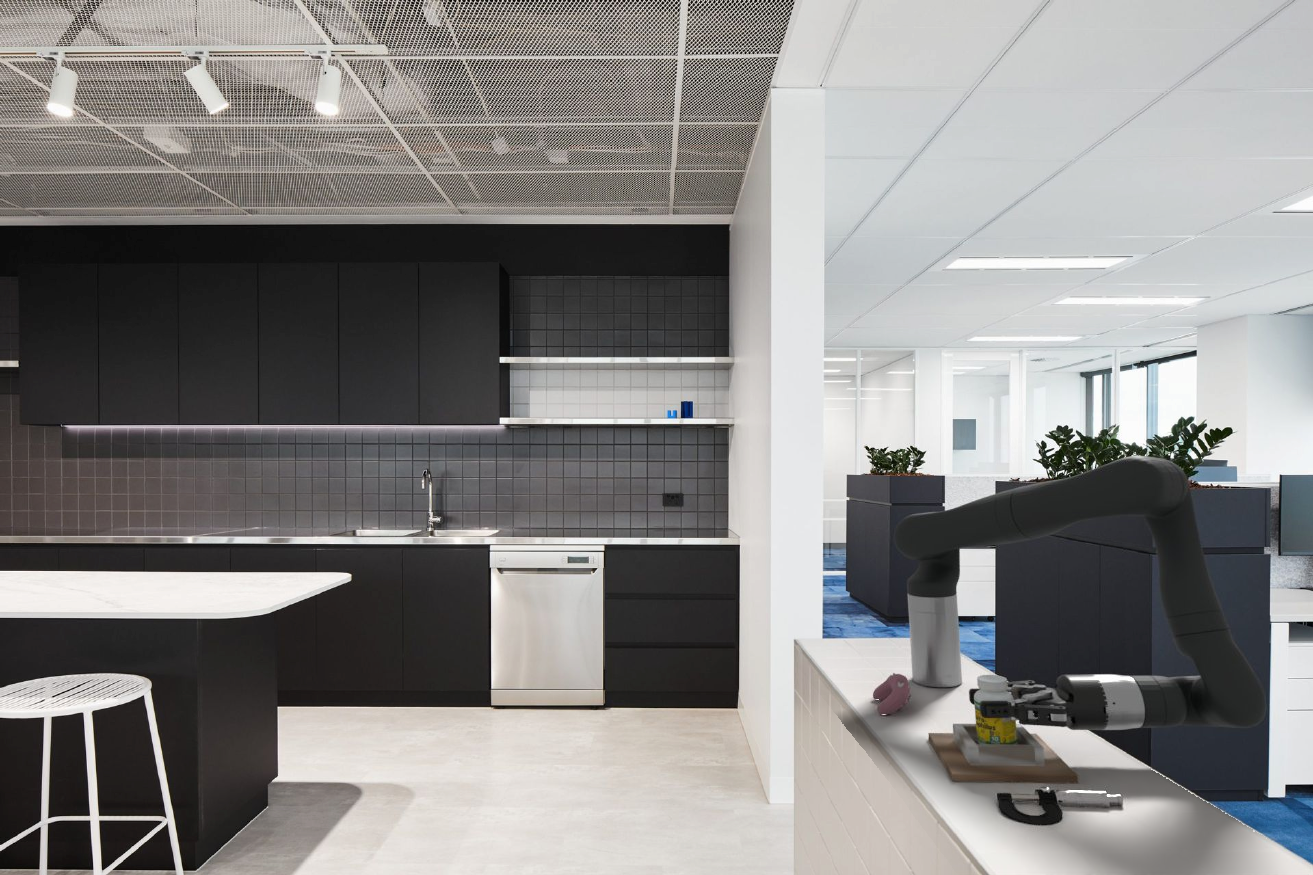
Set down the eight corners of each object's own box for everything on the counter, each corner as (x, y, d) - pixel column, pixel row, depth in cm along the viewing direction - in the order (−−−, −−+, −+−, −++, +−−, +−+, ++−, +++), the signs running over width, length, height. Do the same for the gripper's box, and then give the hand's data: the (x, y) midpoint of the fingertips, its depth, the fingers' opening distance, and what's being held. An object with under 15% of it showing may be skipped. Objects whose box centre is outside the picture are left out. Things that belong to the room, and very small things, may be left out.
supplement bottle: (1026, 746, 109) (1021, 679, 109) (998, 754, 107) (993, 685, 107) (996, 735, 114) (991, 671, 114) (968, 742, 112) (964, 676, 112)
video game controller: (901, 725, 130) (918, 689, 130) (875, 713, 131) (892, 677, 131) (893, 707, 140) (909, 673, 140) (870, 696, 141) (886, 662, 141)
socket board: (928, 739, 119) (927, 716, 119) (1036, 739, 117) (1035, 717, 117) (953, 781, 103) (951, 755, 104) (1078, 783, 101) (1076, 756, 101)
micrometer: (1008, 828, 91) (1006, 806, 91) (992, 801, 98) (990, 781, 98) (1144, 832, 88) (1142, 810, 88) (1117, 804, 95) (1116, 784, 96)
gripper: (1076, 662, 116) (960, 664, 118) (1119, 690, 102) (987, 691, 104) (1080, 711, 115) (964, 712, 118) (1124, 746, 101) (991, 746, 104)
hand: (975, 702), depth 111 cm, fingers closed on supplement bottle, 5 cm apart
